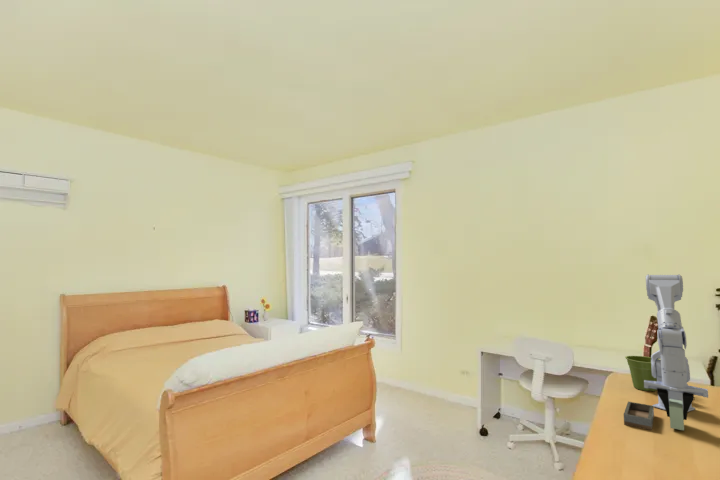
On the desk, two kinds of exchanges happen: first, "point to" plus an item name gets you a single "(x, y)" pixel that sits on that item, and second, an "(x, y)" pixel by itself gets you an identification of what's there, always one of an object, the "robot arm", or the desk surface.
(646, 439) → the desk surface
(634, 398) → the desk surface
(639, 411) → the grey rectangular tray
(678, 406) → the pale green rectangular block
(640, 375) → the plant pot
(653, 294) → the robot arm
